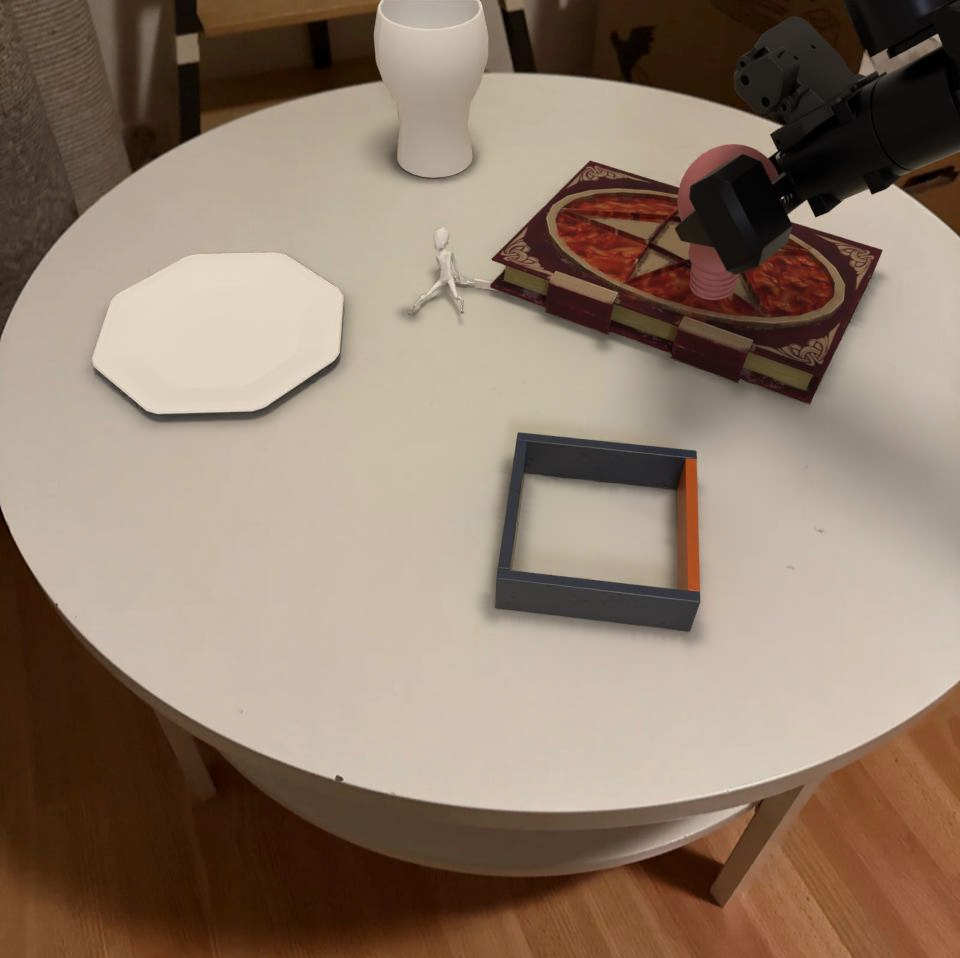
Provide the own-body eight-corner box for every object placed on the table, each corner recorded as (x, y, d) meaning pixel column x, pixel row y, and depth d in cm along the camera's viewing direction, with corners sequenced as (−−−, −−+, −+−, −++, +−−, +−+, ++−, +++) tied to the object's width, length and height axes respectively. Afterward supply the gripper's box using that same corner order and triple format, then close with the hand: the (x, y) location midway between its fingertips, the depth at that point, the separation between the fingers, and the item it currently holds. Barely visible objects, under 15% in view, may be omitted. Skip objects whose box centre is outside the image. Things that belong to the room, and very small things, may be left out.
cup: (497, 179, 92) (501, 26, 81) (392, 192, 91) (381, 38, 79) (473, 125, 99) (474, -23, 87) (375, 137, 97) (363, -13, 86)
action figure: (547, 342, 78) (562, 276, 82) (543, 301, 74) (560, 233, 77) (412, 328, 81) (432, 264, 84) (400, 287, 76) (422, 222, 79)
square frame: (687, 482, 67) (696, 450, 64) (690, 632, 59) (700, 602, 56) (515, 464, 68) (517, 431, 65) (494, 608, 60) (495, 578, 57)
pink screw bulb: (651, 310, 70) (676, 167, 61) (672, 257, 75) (698, 117, 66) (744, 332, 69) (784, 188, 60) (760, 276, 73) (800, 135, 64)
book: (871, 277, 84) (891, 229, 80) (806, 414, 71) (826, 364, 67) (588, 187, 92) (594, 140, 89) (485, 295, 80) (487, 245, 76)
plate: (201, 464, 68) (196, 451, 67) (56, 343, 77) (50, 329, 75) (392, 334, 78) (391, 320, 76) (244, 239, 86) (241, 225, 85)
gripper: (919, -54, 57) (730, 66, 70) (751, 46, 48) (572, 161, 61) (990, 113, 59) (794, 198, 72) (843, 237, 50) (651, 308, 64)
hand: (708, 212), depth 67 cm, fingers closed on pink screw bulb, 7 cm apart
